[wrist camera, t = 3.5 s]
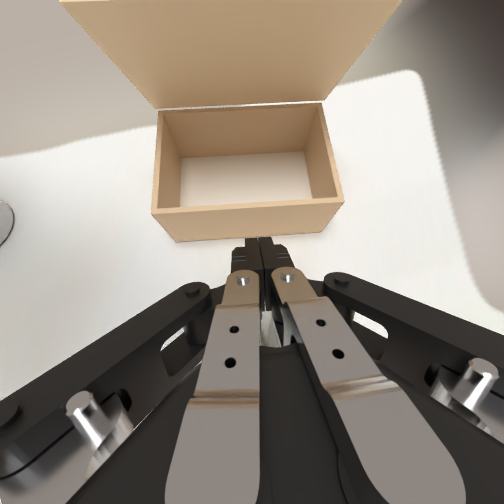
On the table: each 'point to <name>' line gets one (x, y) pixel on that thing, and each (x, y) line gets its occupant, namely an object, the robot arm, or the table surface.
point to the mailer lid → (232, 46)
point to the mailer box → (244, 172)
